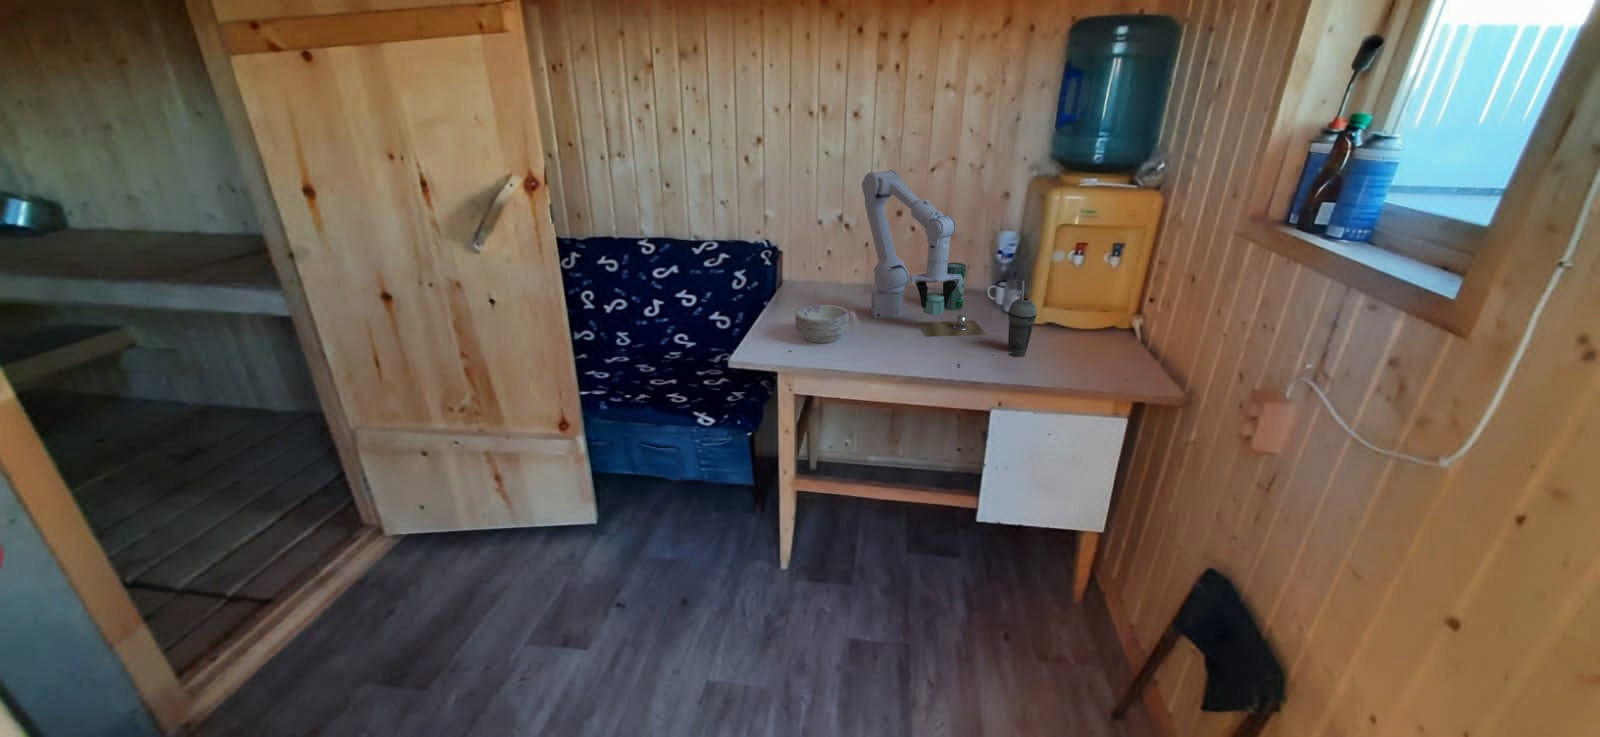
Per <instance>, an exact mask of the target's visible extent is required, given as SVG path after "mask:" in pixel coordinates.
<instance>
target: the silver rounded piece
mask: <svg viewBox="0 0 1600 737" xmlns="http://www.w3.org/2000/svg"><path fill="white" fill-rule="evenodd" d="M956 321H957V323H956V325H954V326H953V328H954V329H955V330H960V331H964V330H968V326H966V325H965V324H966V321H967V316H966V315H964V314H958V315H957V316H956Z"/></svg>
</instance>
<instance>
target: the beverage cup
mask: <svg viewBox="0 0 1600 737" xmlns="http://www.w3.org/2000/svg"><path fill="white" fill-rule="evenodd" d="M1024 294H1025V280H1022V281H1021V295H1020V296H1021V297H1020V298H1017V299H1015V300H1014V301H1013V302H1012V303H1011V304H1010V305H1009V308H1008V311H1007V314H1008V317H1007V318H1008V335H1007V336H1008V337H1007V338H1008V342H1007V350H1008V351H1009V352H1008V353H1007V354H1008V355H1009V356H1010V357H1013V358H1024V357H1025V356H1026V353H1027V351H1028V347H1029V343H1030V339H1031V335H1032V330H1033V326H1034V323H1035V320H1036V319H1037V318H1036V317H1037V316H1038V315H1037V307H1036V305H1035V303H1034V302H1033V301H1032V300H1031V299H1029V298H1025V297H1024V296H1025V295H1024Z"/></svg>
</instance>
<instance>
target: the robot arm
mask: <svg viewBox="0 0 1600 737" xmlns="http://www.w3.org/2000/svg"><path fill="white" fill-rule="evenodd" d="M861 188H862V192H863V197H864V206H865V211H866V215H867V218H868V222H869V226H870V231H871V234H872V235H871V236H872V239H873V244H874V246H875V251H876V255H877V259H878V262H877V264H876V266H875V267H874V268H873V272H874V285H875V287H876V289H877V290H873V291H872V292H871V303H870V304H871V305H870V314H871V315H872V317H873V319H897V318H901V317H902V316H903V304H904V303H903V301H904V291H905V290H906V286H908V284H909V283H910V284H911V285H912V284H913V285H915V286H916V288H917V290H918V293H919V297H920V303H921V304H920V305H921V308H922V309H923V308H925V307H926V296H927V293H928V289H929V287H928V286H927V284H928V283H929V284H930V283H934V284H935V283H936V284H937V283H942V294H943V295H944V307H946V305H947V302H948V300H949V298H950V296H951V294H952V292H953V291H954V289H955V288H956V284H955V282H958V283H962V275H961V274H947V267H948V263H949V257H950V256H949V254H950V246H951V245H950V244H951V237H952V236H953V235H954V234H955V232H956V230H957V228H956V227H957V226H956V221H955V219H954V218H953V217H952V216H951V215H950V214H949V215H948V214H947V215H944V214H943V213H942V212H941V211H939V210H938V209H937V208H936V207H934V206H933V205H932V202H931V201H930V199H920V198H918V196H917V195H916V194H915V193H914V192H913V191H912V190H911V189H910V187H909V186H907V185H906V184H905V183H904V181H903V178H902V176H901V175H900V174H898V173H897V171H896V170H893V169H889V170H886V171H877V172H868V173H867V174H865V176H864V178H863V180H862V182H861ZM892 196H894V197H895V198H896V199H897V200H899V201H900V202H902V204H904V205H905V206H906V207H907V208H909V209H910V214H911V217H912V218H914V220H916V222H918V224H920V226H922V227H923V228H924V231H925V232H924V233H925V234H926V237H927V243H928V248H927V258H926V260H927V261H926V272H925V273H921V274H910V273H909V270H908V269H907V268H906V266H905V262H904V261H903V260H902V259H900V258H899V257H898V256H897V252H896V249H895V244H894V240H893V236H892V232H891V228H890V224H889V221H888V217H887V212H886V209H885V205H886V203H887V202H888V201H889V199H890V198H891V197H892Z"/></svg>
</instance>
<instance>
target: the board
mask: <svg viewBox="0 0 1600 737" xmlns="http://www.w3.org/2000/svg"><path fill="white" fill-rule="evenodd" d="M914 323H915V324H916V326H917V327H918V328H919V330H920V331H921V332H922V334H923V336H925V337H926V338H929V337H930V338H931V337H933V338H934V337H957V336H958V337H959V336H961V337H963V336H987V335H988V333H987V332H986V331H985V330H984V329H983V328H982V327H981V326H980V325H979V324H978V323H977V322H976V321H975V320H974V319H973V320H966V324H965V325H966V326H968V330H964V331H960V330H955V329H954V328H953V326H954V325H956V323H957V320H951V321H950V320H949V321H948V320H947V321H945V320H944V321H915V322H914Z"/></svg>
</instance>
